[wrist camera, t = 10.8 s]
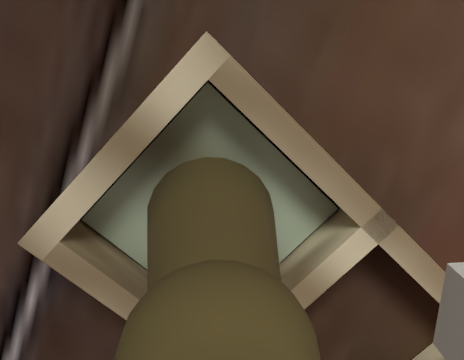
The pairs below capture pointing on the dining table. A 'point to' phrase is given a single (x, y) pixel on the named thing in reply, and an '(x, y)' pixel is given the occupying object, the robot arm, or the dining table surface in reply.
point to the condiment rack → (233, 148)
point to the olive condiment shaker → (214, 273)
